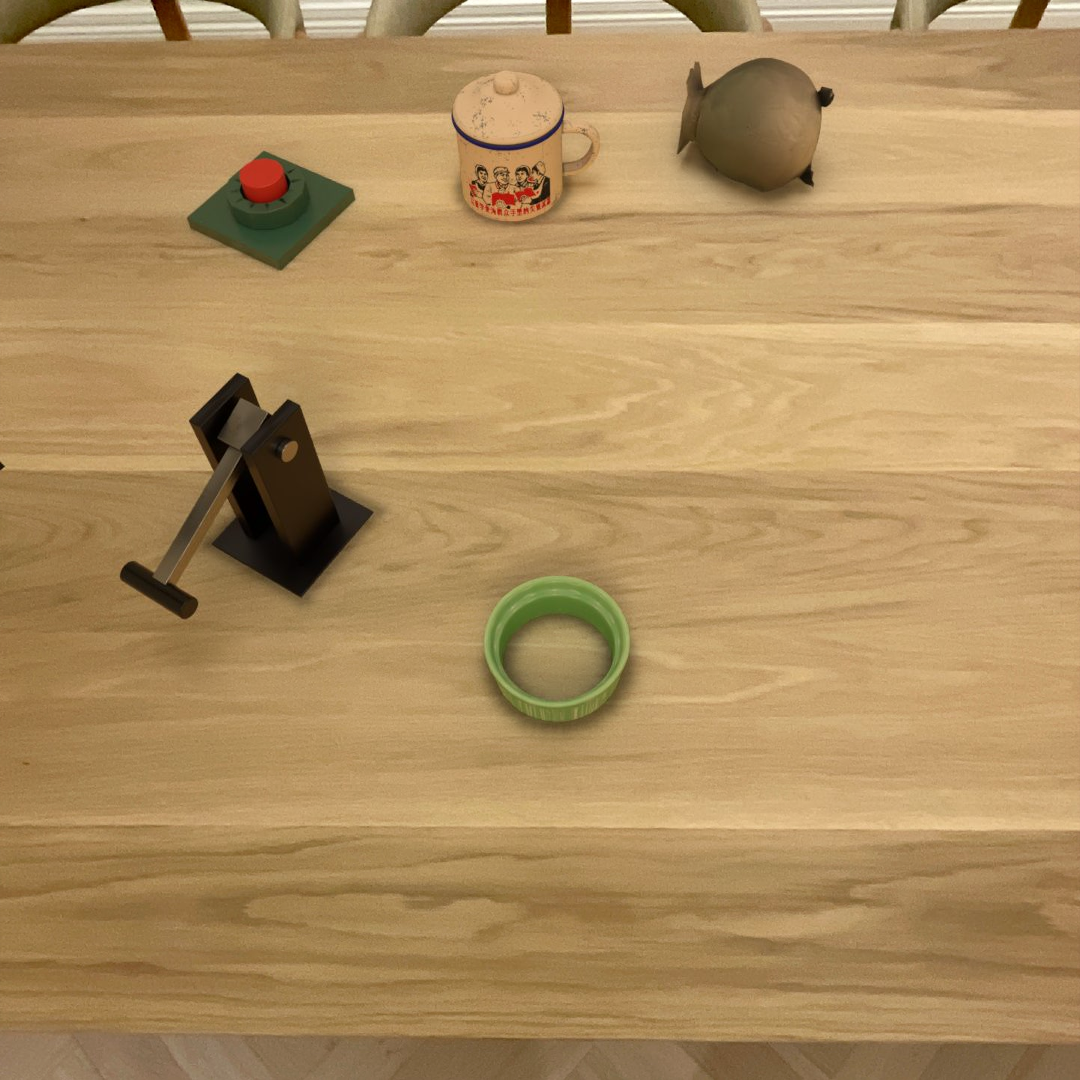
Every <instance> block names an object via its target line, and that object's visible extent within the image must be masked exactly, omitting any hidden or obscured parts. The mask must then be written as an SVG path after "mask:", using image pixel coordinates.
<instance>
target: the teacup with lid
mask: <svg viewBox="0 0 1080 1080" xmlns="http://www.w3.org/2000/svg"><path fill="white" fill-rule="evenodd" d="M450 118H451V122H452V125H453V128H454V129H455V133H456V142H457V143H456V144H457V151H458V152H457V153H458V160H459V169H460V178H461V187H462V194H463V198H464V200H465V202H466V204H467V205H468V206H469V207H470V208H471V209H472V210H473V211H474V212H476V213H478V214H479V215H480V216H483V217H486V218H488V219H491V220H496V221H502V222H518V221H520V222H521V221H525V220H529V219H532V218H533V219H534V218H536V217H538V216H540V215H542V214H545V213H546V212H547V211H549V210H551V208H552V207H554V205H556V203H557V202H558V201H559V199H560V197H561V195H562V193H563V184H564V183H563V182H564V181H563V177H566V176H567V177H568V176H575V175H579V174H581V173H583V172H585V171H587V170H588V169H589V168H590V167H591V166H592V165H593V164H594V163H595V161H596V160H597V158H598V156H599V153H600V149H601V148H600V147H601V138H600V134H599V132H598V131H599V130H598V129H597V128H596V127H595V126H594V125H593V124H591V123H590V122H588V121H586V120H582V119H576V118H575V119H574V118H573V119H564V118H565V105H564V102H563V100H562V97H561V95H560V94H559V92H558V90H557V89H556V88H555V87H554V86H553V84H551V83H549V81H547V80H545V79H544V78H541V77H540V76H537V75H534V74H531V73H527V72H520V71H512V70H508V69H505V70H504V69H503V70H501V71H498V72H495V73H489V74H486V75H483V76H481V77H478V78H476V79H474V80H472V81H471V82H469V83H468V84H466V86H464V87H462V89H461V90H460V92H459V93H458V94H457V96H455V99H454V102H453V104H452V109H451V117H450ZM564 134H580V135H583V136H585V137H587V138H588V139H589V140H590V141H591V143H590V146H589V149H588V150H587V152H586V154H584V155H583V156H582V157H581V158H578V159H576V160H574V161H568V162H567V161H566V162H563V135H564Z"/></svg>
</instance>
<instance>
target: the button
mask: <svg viewBox="0 0 1080 1080" xmlns="http://www.w3.org/2000/svg"><path fill="white" fill-rule="evenodd" d="M241 168H242V169H241ZM241 168H240V169H241V171H240V174H239V178H240V182H241V185H242V188H243V191H244V194H245V196H246V198H247V199H248V200H249V201H251V202H253V203H269V202H271V201H274V200H277V199H280V198H281V197H282V196H283V195H284V194H285V193H286V192H287V189H288V185H287V181H286V178H285V174H284V171H283V168H282V166H281V164H280V163H278V162H277V161H275V160H272V159H257V160H254V161H252V160H251V161H250V162H247V163H246V164H245V165H243V166H242V167H241Z"/></svg>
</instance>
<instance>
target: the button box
mask: <svg viewBox="0 0 1080 1080" xmlns="http://www.w3.org/2000/svg"><path fill="white" fill-rule="evenodd" d="M257 159H272V160H275V161H277V162H278V163H280V164H281V166H282V168H283V171H284V174H285V178H286V181H287V185H288V189H287V192H286V193H285V194H284V195H283V196H282V197H281V198H280V199H277V200H274V201H271V202H269V203H253V202H251V201H249V200H248V199H247V198H246V196H245V194H244V191H243V188H242V185H241V182H240V178H239V174H240V171H241V169H242V168H243V167H241V168H240V169H239V170H237V172H235V173H234V174H233V175H232V176H230V178H228V180H227V182H226V183H225V184H223V185H222V186H221V187H220V188H219V189H218V190H217V191H215V192H214V193H213V194H212V195H211V196H210V197H209V198H207V199H206V200H205V201H204V202H203V203H201V205H200V206H198V207H197V208H196V209H194V211H192V212H191V213H190V214H189V215H187V217H186V220H187V222H188V225H189V227H190V229H192V230H193V231H196V232H198V233H200V234H202V235H204V236H206V237H208V238H210V239H213V240H215V241H217V242H219V243H221V244H222V245H225V246H227V247H229V248H232V249H234V250H236V251H238V252H240V253H242V254H244V255H246V256H249V257H251V258H253V259H255V260H257V261H259V262H261V263H263V264H266V265H267V266H270V267H272V268H273V269H276V270H278V271H280V272H281V271H283V270H284V269H285V268H286V267H287V266H288V265H289V264H290V263H291V262H292V261H293V260H295V258H296V257H297V256H298V255H299V254H300V253H301V252H302V251H304V249H306V248H307V247H308V246H309V245H310V244H311V243H312V242H313V241H314V240H315V239H317V237H318V236H319V235H320V234H321V233H322V232H323V231H324V230H326V228H328V227H329V225H331V224H332V223H333V222H334V221H335V220H336V219H337V218H338V217H340V215H342V213H343V212H345V211H346V209H347V208H348V207H350V206H351V204H353V203H354V202H355V200H356V197H355V191H354V188H352V187H349V186H347V185H345V184H342V183H341V182H337V181H335V180H333V179H331V178H328V177H326V176H324V175H322V174H319V173H318V172H317V173H316V172H314V171H312V170H310V169H308V168H306V167H303V166H301V165H298V164H296V163H293V162H292V161H289V160H286V159H284V158H282V157H280V156H277V155H275V154H274V153H273V154H272V153H271V152H268V151H266V150H263V151H261V152H260V153H259V154H258V155H257V156H255V157H254V158H253V159H252V160H251V161H254V160H257Z"/></svg>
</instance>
